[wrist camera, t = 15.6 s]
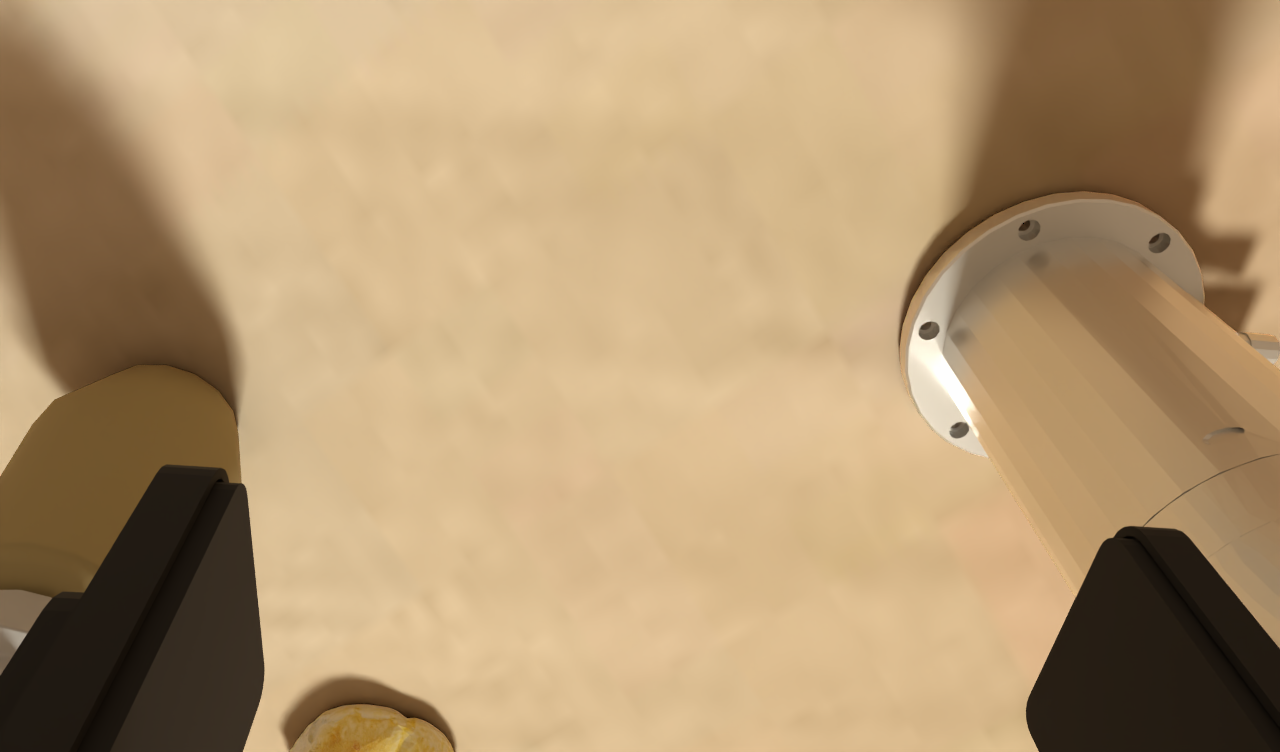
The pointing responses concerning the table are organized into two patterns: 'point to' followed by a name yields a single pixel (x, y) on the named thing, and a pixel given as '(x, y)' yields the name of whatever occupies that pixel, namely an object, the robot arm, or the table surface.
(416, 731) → the bread roll
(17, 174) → the table surface
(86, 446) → the squeeze bottle
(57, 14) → the table surface
